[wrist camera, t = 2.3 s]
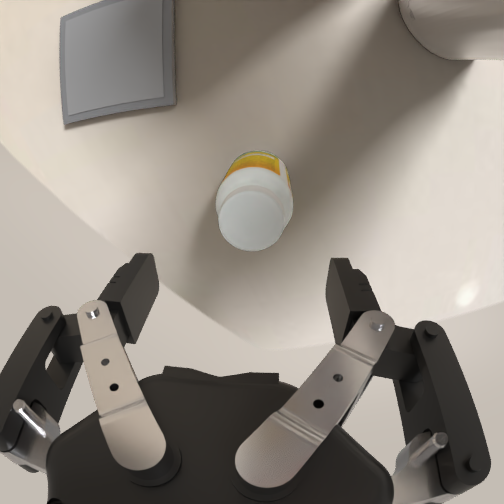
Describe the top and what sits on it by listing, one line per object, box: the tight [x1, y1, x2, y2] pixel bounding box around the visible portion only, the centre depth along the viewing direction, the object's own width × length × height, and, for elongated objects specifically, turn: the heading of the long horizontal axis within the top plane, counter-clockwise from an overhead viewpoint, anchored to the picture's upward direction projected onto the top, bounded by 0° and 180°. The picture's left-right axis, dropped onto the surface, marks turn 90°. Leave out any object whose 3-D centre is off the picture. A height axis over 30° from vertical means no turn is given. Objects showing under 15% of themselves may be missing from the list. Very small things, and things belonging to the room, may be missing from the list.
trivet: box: [60, 0, 176, 124], centre depth 20 cm, size 12×12×1 cm
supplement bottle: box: [216, 151, 293, 251], centre depth 22 cm, size 5×5×10 cm
